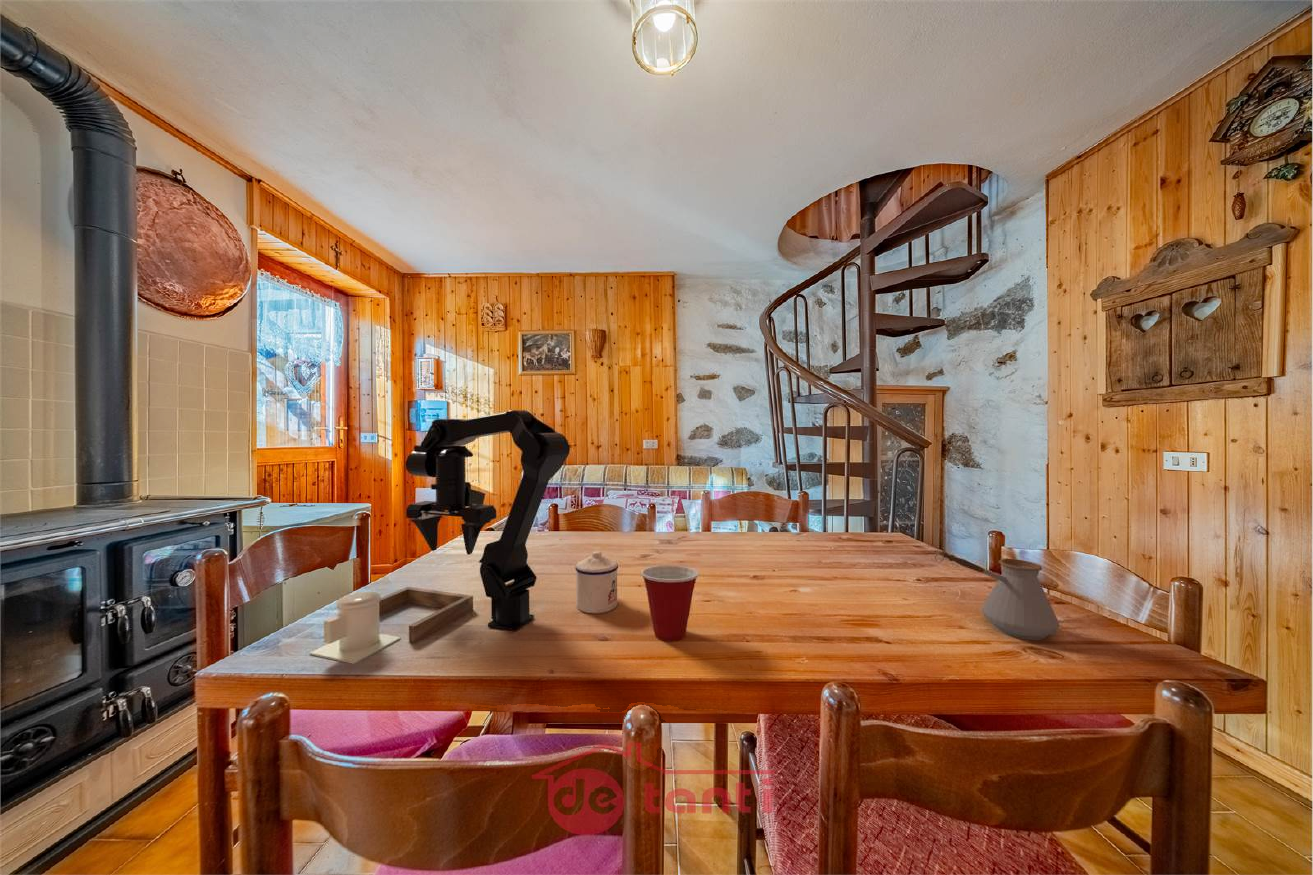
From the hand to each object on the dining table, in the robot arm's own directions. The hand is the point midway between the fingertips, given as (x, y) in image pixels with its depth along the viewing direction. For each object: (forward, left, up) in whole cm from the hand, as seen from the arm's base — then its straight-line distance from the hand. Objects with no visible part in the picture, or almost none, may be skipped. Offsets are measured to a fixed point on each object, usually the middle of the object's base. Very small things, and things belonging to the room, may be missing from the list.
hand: (451, 552), depth 95 cm
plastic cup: (-47, -3, -12) cm, 49 cm away
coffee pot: (-105, -23, -12) cm, 108 cm away
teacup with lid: (-28, -12, -12) cm, 33 cm away
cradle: (+4, +7, -12) cm, 14 cm away
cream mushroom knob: (+4, +19, -12) cm, 23 cm away
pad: (+4, +19, -12) cm, 22 cm away
